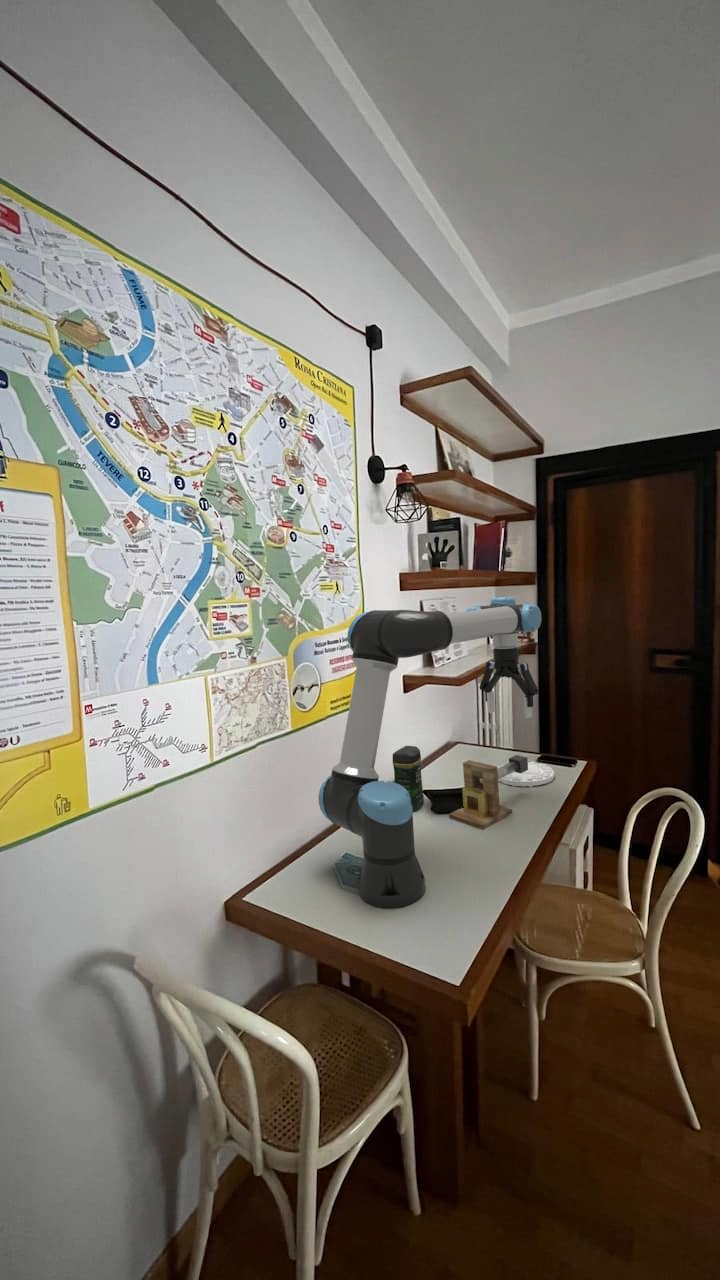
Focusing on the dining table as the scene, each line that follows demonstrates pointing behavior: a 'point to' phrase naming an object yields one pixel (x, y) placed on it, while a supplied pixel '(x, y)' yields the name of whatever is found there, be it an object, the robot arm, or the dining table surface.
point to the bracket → (489, 786)
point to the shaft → (510, 768)
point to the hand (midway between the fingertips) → (509, 714)
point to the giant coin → (529, 776)
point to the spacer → (482, 802)
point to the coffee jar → (409, 773)
